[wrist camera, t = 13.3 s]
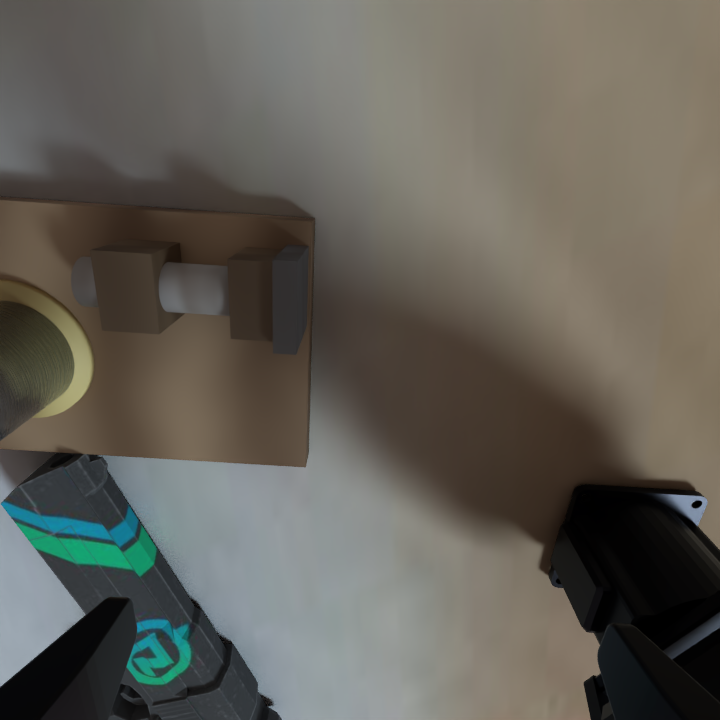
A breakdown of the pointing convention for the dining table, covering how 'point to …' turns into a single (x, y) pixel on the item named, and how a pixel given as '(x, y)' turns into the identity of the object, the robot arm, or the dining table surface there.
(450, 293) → the dining table surface
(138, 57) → the dining table surface
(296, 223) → the door lock
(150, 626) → the handgun
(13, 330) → the silver metal cylinder
